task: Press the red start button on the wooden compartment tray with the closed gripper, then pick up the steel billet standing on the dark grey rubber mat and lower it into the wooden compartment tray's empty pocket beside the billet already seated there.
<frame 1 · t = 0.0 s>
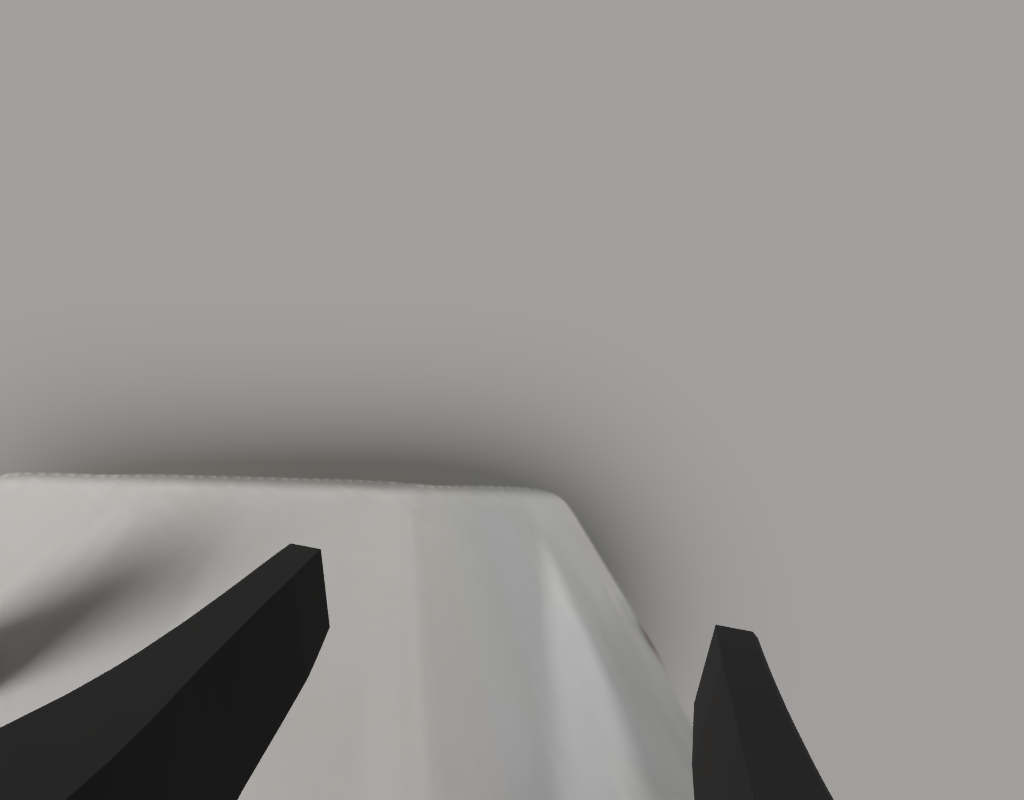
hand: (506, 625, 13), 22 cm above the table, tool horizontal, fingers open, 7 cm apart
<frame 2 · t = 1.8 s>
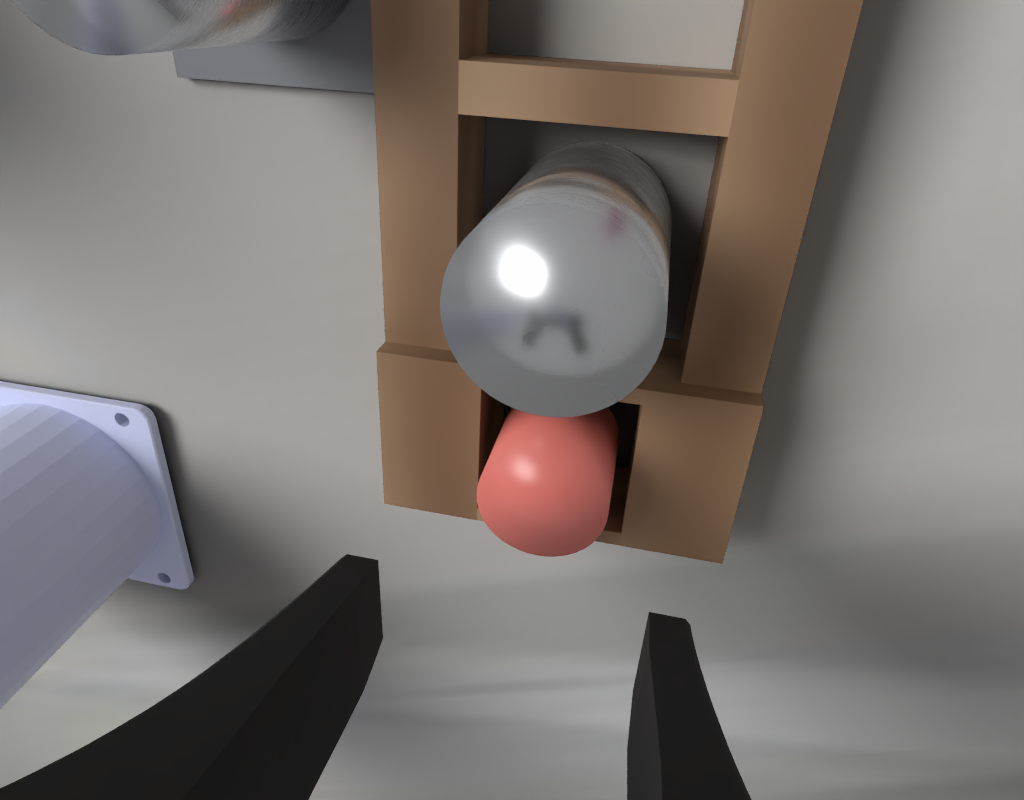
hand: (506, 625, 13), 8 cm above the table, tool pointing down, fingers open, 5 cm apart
wooden compartment tray: (594, 177, 17), on the table
billet seated: (589, 226, 17), resting in wooden compartment tray
button: (551, 467, 17), point 3 cm above the table, slide at 0.0 cm
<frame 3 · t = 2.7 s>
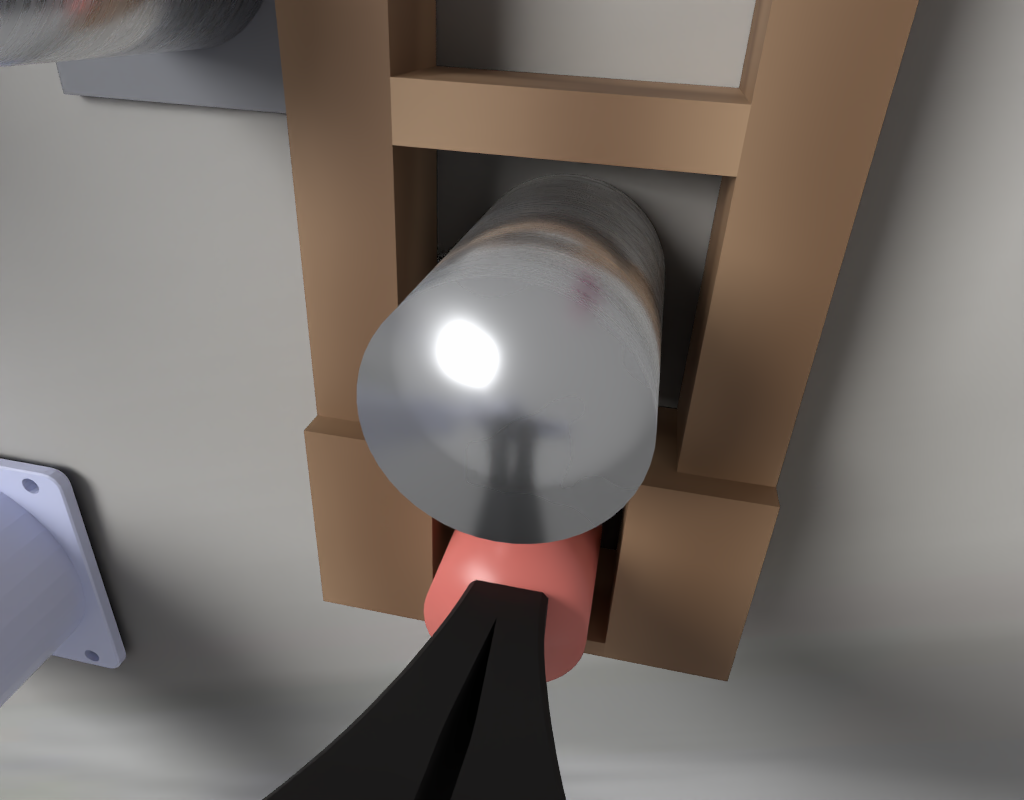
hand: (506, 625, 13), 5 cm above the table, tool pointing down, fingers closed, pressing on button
wooden compartment tray: (569, 217, 14), on the table
billet seated: (564, 275, 14), resting in wooden compartment tray
button: (519, 570, 14), point 3 cm above the table, slide at 0.0 cm, touching gripper
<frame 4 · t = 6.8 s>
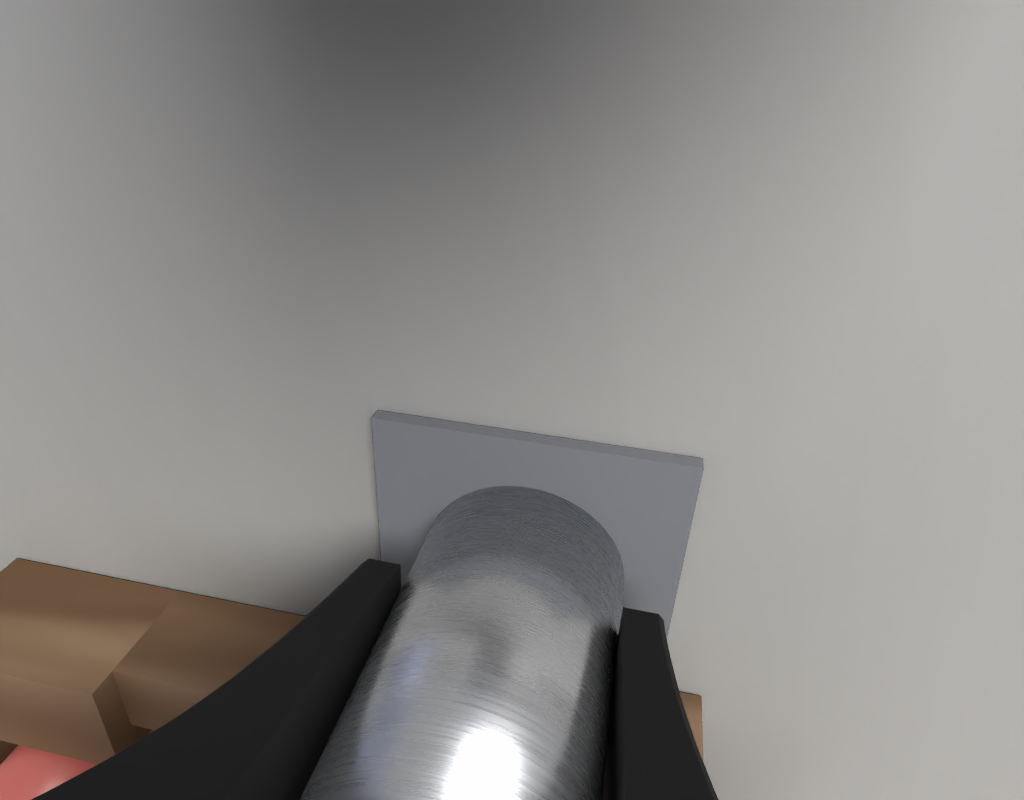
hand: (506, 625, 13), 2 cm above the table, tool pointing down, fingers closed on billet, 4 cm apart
mat: (525, 558, 14), on the table
billet: (522, 568, 14), resting on mat, touching gripper
wooden compartment tray: (345, 741, 19), on the table
button: (72, 776, 18), point 2 cm above the table, slide at 0.8 cm
when the fingers open (3 cm above the table, at t = 9.5 s): billet drops 1 cm, resting in wooden compartment tray.
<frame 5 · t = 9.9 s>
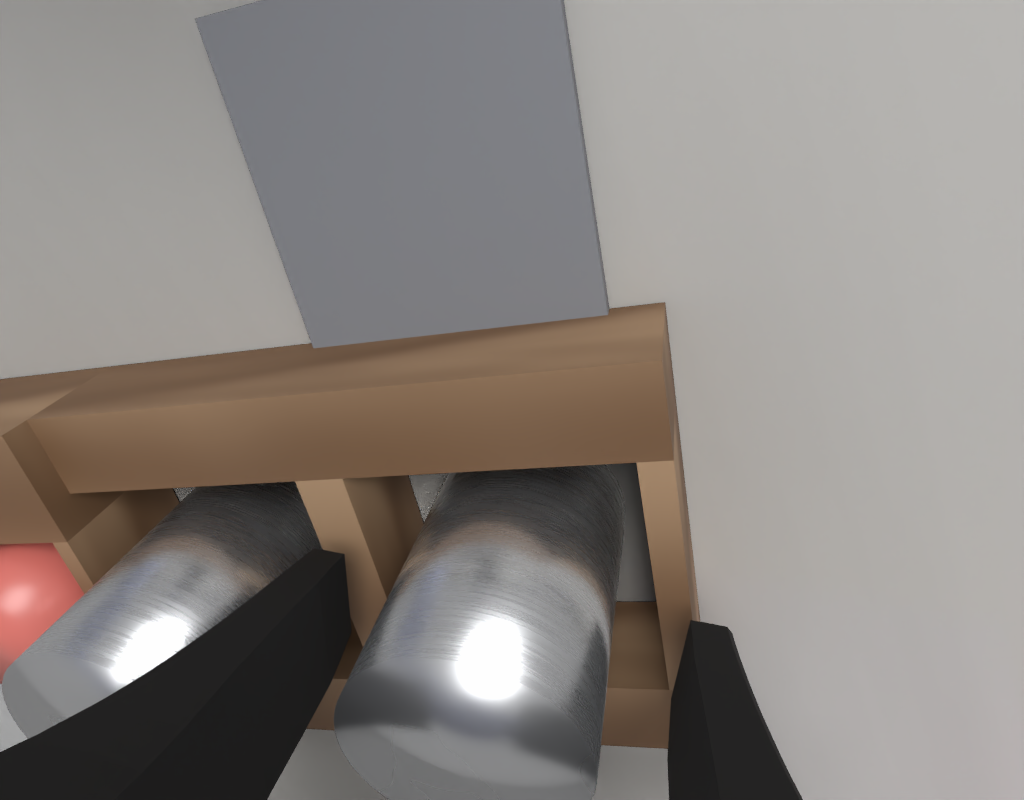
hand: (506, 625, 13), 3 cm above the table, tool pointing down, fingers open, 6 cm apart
mat: (415, 169, 12), on the table
billet: (533, 506, 15), resting in wooden compartment tray
wooden compartment tray: (324, 518, 17), on the table
billet seated: (281, 520, 17), resting in wooden compartment tray, touching gripper
button: (46, 592, 17), point 2 cm above the table, slide at 0.8 cm
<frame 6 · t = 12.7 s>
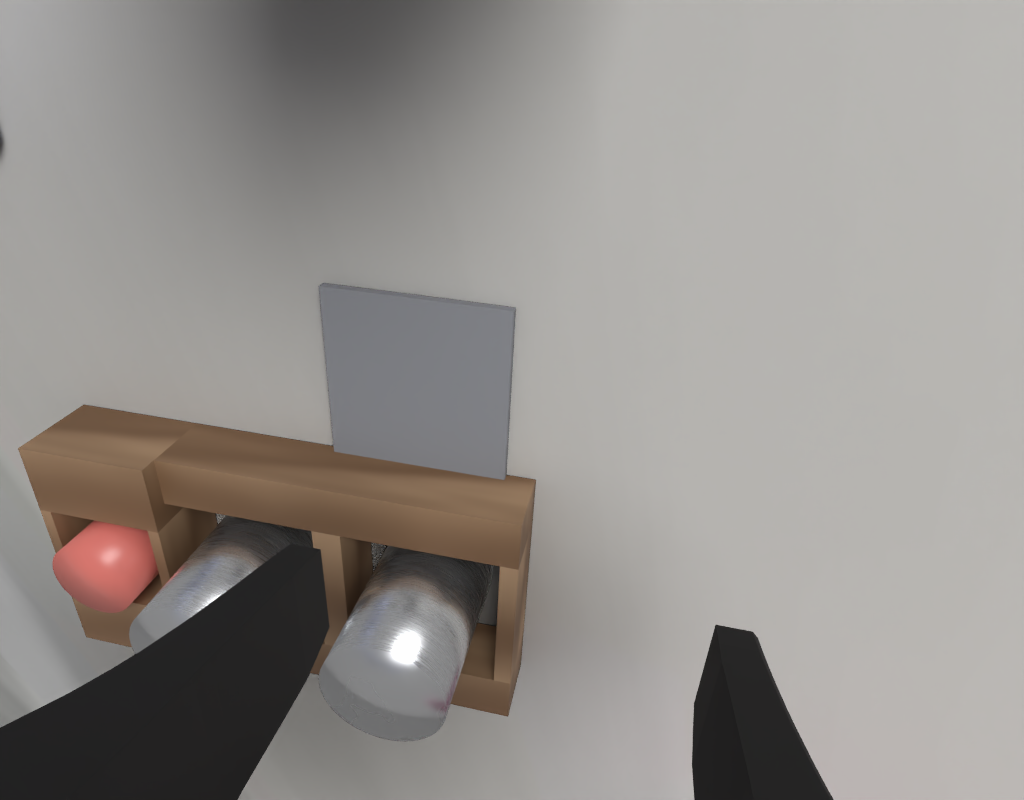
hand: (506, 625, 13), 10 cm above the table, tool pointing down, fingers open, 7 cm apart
mat: (418, 383, 22), on the table
billet: (440, 560, 26), resting in wooden compartment tray
wooden compartment tray: (309, 538, 27), on the table
billet seated: (281, 533, 27), resting in wooden compartment tray
button: (121, 552, 26), point 2 cm above the table, slide at 0.8 cm
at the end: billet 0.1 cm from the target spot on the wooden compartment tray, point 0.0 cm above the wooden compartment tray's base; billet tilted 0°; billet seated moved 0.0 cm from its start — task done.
